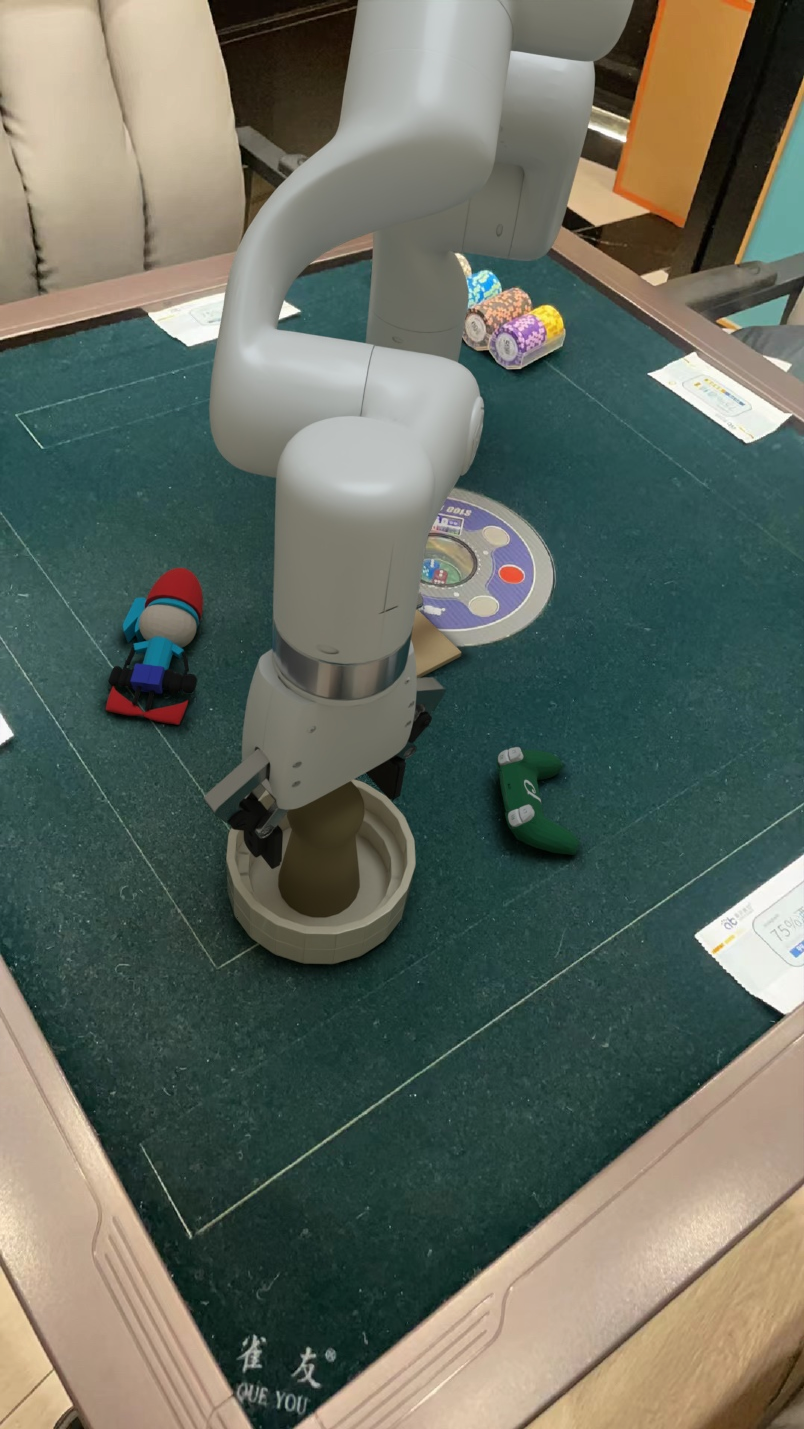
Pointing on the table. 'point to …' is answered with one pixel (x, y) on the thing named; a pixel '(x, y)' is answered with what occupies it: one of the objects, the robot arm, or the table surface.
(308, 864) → the olive brown pawn
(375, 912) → the bowl
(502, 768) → the gaming controller
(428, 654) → the coaster
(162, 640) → the toy figure
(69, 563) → the table surface
